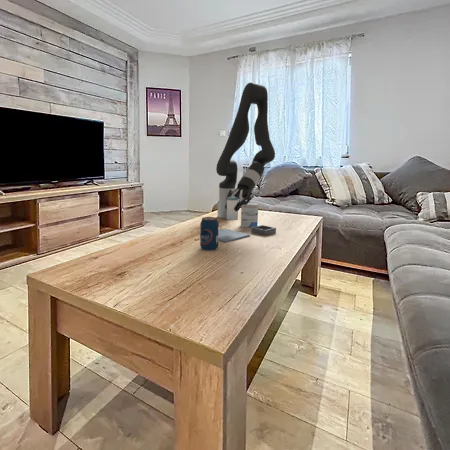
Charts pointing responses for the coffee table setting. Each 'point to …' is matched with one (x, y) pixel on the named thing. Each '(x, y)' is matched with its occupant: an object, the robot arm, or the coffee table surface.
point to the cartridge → (232, 208)
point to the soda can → (209, 233)
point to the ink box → (249, 215)
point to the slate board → (230, 235)
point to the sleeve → (263, 230)
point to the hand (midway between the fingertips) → (231, 209)
